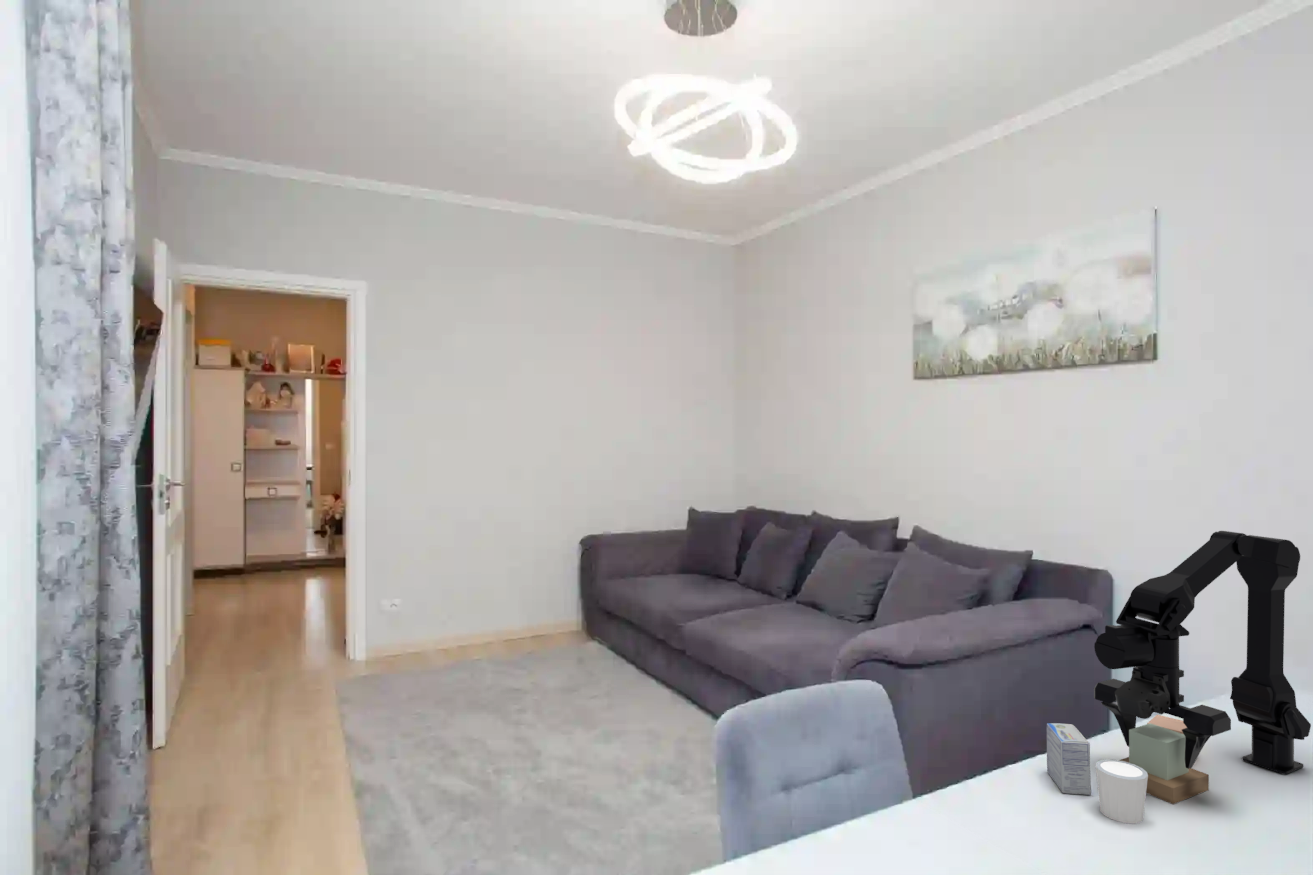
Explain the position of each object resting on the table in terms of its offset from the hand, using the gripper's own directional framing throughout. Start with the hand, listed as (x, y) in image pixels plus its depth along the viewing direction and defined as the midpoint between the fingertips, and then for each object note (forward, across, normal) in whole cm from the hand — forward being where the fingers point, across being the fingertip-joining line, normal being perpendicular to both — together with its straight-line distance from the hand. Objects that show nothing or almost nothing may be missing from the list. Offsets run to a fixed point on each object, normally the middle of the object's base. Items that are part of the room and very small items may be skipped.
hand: (1158, 756), depth 124 cm
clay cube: (+5, -5, +13) cm, 15 cm away
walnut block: (+4, 0, 0) cm, 4 cm away
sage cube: (+2, 0, 0) cm, 2 cm away
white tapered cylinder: (+5, +3, -15) cm, 16 cm away
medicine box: (+5, -7, -13) cm, 15 cm away
